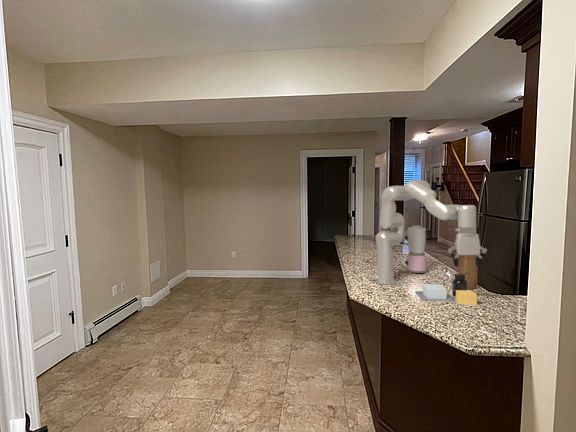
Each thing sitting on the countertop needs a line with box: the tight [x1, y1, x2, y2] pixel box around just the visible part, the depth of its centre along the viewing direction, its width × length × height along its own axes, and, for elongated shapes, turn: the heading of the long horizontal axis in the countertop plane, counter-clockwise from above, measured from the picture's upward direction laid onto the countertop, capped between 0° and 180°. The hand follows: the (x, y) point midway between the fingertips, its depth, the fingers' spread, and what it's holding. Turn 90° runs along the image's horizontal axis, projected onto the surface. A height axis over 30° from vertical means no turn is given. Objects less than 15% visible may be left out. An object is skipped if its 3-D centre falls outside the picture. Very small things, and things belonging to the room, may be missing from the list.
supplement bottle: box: [451, 273, 468, 298], centre depth 170 cm, size 7×7×12 cm
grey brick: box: [422, 283, 448, 299], centre depth 170 cm, size 9×9×5 cm
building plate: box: [414, 290, 458, 303], centre depth 170 cm, size 16×16×2 cm
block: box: [457, 255, 478, 290], centre depth 188 cm, size 11×8×20 cm
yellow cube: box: [455, 289, 478, 306], centre depth 159 cm, size 7×7×6 cm
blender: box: [401, 225, 427, 275], centre depth 225 cm, size 16×12×32 cm
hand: (467, 266), depth 158 cm, fingers open, 9 cm apart
